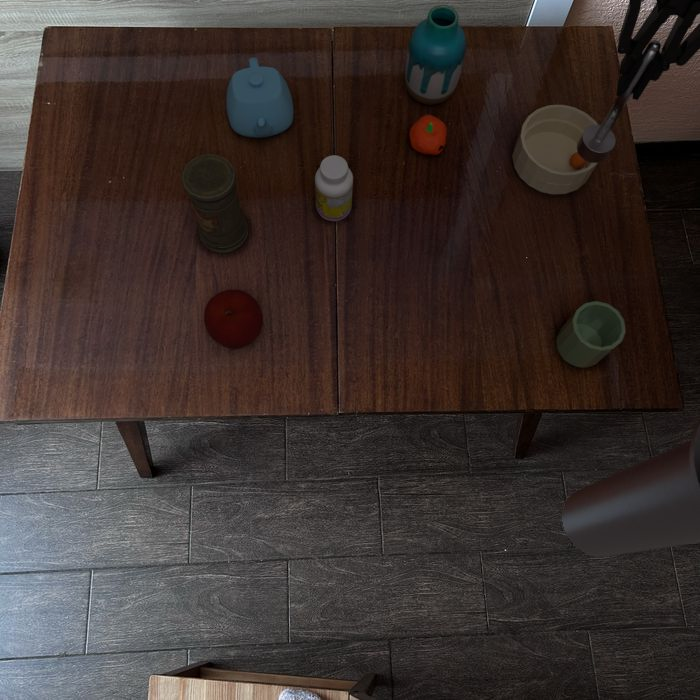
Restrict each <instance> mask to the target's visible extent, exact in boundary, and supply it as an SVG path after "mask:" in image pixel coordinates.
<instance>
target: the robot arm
mask: <svg viewBox="0 0 700 700" xmlns="http://www.w3.org/2000/svg"><path fill="white" fill-rule="evenodd" d="M645 1H646V0H629V1H628V6H627V8H626V13H625V15H624V19H623V21H622V25H621V29H620V32H619V36H618V44H617V53H618V54H619V55H624V56H623V58H622V60H621V61H620V63H619V64H620V66H619V75H620V76H619V78H618V80H617V87H616V94H615V96H617V97H618V96H620V97H622V95H623V94H624V92H625V90H626V88H627V87H628V85H629V83H630V82H631V80H632V78H633V77H634V75H635V73H636V72H637V70H638V68H639V67H640V65H641V62H642V54H643V53H644V51H645V49H646V47H647V46H648V44H649V43H650V42H651V41H652V39H653V37H655V35H656V34H657V32H658V31H659V30H660V28H661V27H662V25H663V24H666V22H667V21H668V20H669V18H670V17H671V16H677V17H676V19H675V21H674V23H673V25H672V27H671V29H670V31H669V33H668V35H667V37H666V39H665V41H664V43H663V45H662V46H661V50H659V52H658V53H657V55H656V56H655V58H654V60H653V61H652V63H651V65H650V66H649V68H648V69H647V71H646V73H645V74H644V76H643V78H642V79H641V81H640V83H639V84H638V86H637V87H636V89H635V91H634V92H633V94H632V100H635V101H639V99H640V97H641V96H642V94H643V92H644V91H645V89H646V88H647V86H648V85H649V83H650V81H653V82H656V81H658V80H659V79H660V78H661V76H662V74H663V73H664V72H667V71H669V70H670V67H671V64H672V65H673V64H676V66H679V67H683V66H685V65H686V64H687V63H688V62H689V61H690V60H691V59H692V58H693V56H695V55H696V53H697V52H698V51H699V50H700V22H699V23H698V24H697V26H696V27H694V28H693V30H692V31H691V32H689V34H688V35H687V32H688V30H689V29H691V28H692V25H693V24H694V22H695V20H696V18H697V16H698V15H700V0H656V2H655V6H654V7H653V8H652V9H651V11H650V13H649V14H648V16H647V17H646V19H645V20H644V22H643V23H642V24H641V26H640V28H639V29H638V31H636V33H635V35H634V36H633V34H634V31H635V27H636V24H637V22H638V18H639V15H640V12H641V9H642V3H644V2H645ZM686 35H687V36H686ZM685 36H686V38H685ZM684 38H685V39H684Z"/></svg>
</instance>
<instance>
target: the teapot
mask: <svg viewBox="0 0 700 700" xmlns="http://www.w3.org/2000/svg"><path fill="white" fill-rule="evenodd" d="M248 66H249V67H246V68H242V69H239V70H237V71H236V72H234V73H233V75H232V77H231V78H230V80H229V83H228V85H227V90H226V103H225V105H226V113H227V118H228V122H229V124H230V127H231V129H232V130H233V131H234V132H235V133H237V134H238V135H240V136H243V137H247V138H252V139H253V138H255V139H260V138H268V137H272V136H273V137H274V136H276V135H280V134H281V133H283V132H285V131H287V130H288V129H289V128H290V127H291V125H292V124H293V121H294V113H295V112H294V103H293V97H292V94H291V90H290V88H289V86H288V83H287V81H286V80H285V78H284V76H283V75H282V74H281V73H280V72H279V71H278V70H277V69H276V68H274V67H272V66H270V67H269V66H260V65H259V60H258V58H257V57H255V56H253V57H250V58H248Z"/></svg>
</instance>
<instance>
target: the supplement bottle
mask: <svg viewBox="0 0 700 700" xmlns="http://www.w3.org/2000/svg"><path fill="white" fill-rule="evenodd" d="M319 166H320V167H318V169H317V170H316V173H315V175H314V194H315V195H314V197H315V208H316V211H317V214H319V215H320V217H321V218H323V219H324V220H326V221H330V222H338V221H341V220H343V219H345V218H346V217H347V216H348V215H350V213H351V212H352V211H351V210H352V207H353V191H354V190H353V188H354V175H353V172H352V171H351V168H349V165H348V162H347V160H346V159H345V158H344V157H342V156H340V155H335V154H333V155H329V156H326V157H324V159H322V161H321V162H320V165H319Z"/></svg>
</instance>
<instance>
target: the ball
mask: <svg viewBox="0 0 700 700" xmlns="http://www.w3.org/2000/svg"><path fill="white" fill-rule="evenodd" d="M570 164H571V166H572V167H574V168H582V167H583V166H584V165H585V164H586V160H584V159H583V158H581V156H580V155H579V154H578V152H576V153H574V154H573V155H572V156H571V158H570Z"/></svg>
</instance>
